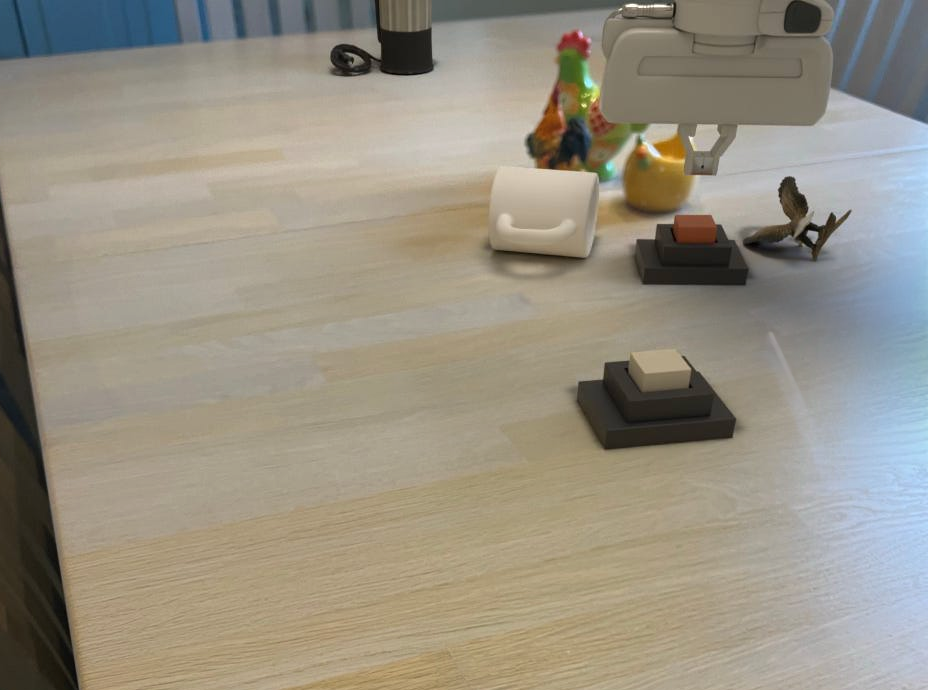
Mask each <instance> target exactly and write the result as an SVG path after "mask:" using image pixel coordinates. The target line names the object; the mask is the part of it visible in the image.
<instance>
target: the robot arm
mask: <svg viewBox="0 0 928 690" xmlns="http://www.w3.org/2000/svg"><path fill="white" fill-rule="evenodd" d="M618 15H621V16H620V17H618ZM616 16H617V17H616ZM834 19H835V11H834V9H833V7H832V6H831V5H830V4H829V3H828V2H827V1H826V0H674V2H672V3H671V2H663V3H662V2H655V3H647V4H646V3H645V4H644V3H643V4H642V3H641V4H640V3H638V2H628V3H627V2H626V3H623V4H622V6H621V8H617V9H615V10H613V11H612V12H611V13H610V14H609V15H608V16H607V18H606V19H605V21H604V23H603V26H602V34H601V53H602V56H603V57H604V58H605V59H606V60H605V64H604V69H603V73H602V78H601V84H600V90H599V96H598V97H599V99H598V108H599V113H600V114H601V115H602V117H603V118H604V119H605V121H606V122H607V123H609V124H643V125H644V124H647V125H649V124H652V125H653V124H654V125H658V124H659V125H677V129H676V130H677V134H678V137H679V139H680V142H681V145H682V147H683V149H684V152H685V158H684V164H683V173H684V175H685V176H708V177H709V176H711V177H712V176H713V177H716V176H717V174H718V171H719V164H720V159H721V157H722V156H724V154H725V153H726V151H727V150H728V149H729V147H730V146H731V145H732V143H733V142H734V140H735V139H736V136H737V131H738V126H773V127H774V126H780V127H783V126H784V127H814V126H815V125H816V124H817V123H819V121H821V119H822V118H823V117H824V116H825V114H826V111H827V108H828V103H829V99H830V98H829V97H830V93H831V92H830V91H831V86H832V77H833V66H834V53H833V52H834V51H833V48H832V45H831V43H830V41H829V40H828V39H827V38H826V37H825V35H828V33H830V31H831V29H832V26H833V24H834ZM698 125H710V126H711V125H712V126H713V125H714V126H715V125H717V132H718V134H719V135H720V136H719V137H718V138H717V140H716V141H715V143H714V144H713V146H712V147H711V149H710V150H694V148H693V145H692V142H691V140H690V138H695V136H696V133H697V126H698Z"/></svg>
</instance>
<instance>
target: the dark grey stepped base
mask: <svg viewBox="0 0 928 690" xmlns="http://www.w3.org/2000/svg"><path fill="white" fill-rule="evenodd" d="M715 224H716V226H717V231H716V237H715V243H676V240H675V237H674V235H673V225H674V223H656V225H655V226H656V227H655V234H654V238H636V242H635V247H634V248H635V250H634V258H635V261H636V265H637V269H638V272H639V277H640V280H641V284H642V285H645V286H648V285H649V286H650V285H651V286H654V285H655V286H742V287H743V286H746V285H747V280H748V275H749V270H750V268H749V267H748V265H747V262H746V261H745V259H744V256H743V255H742V251H741V250H740V249H739V246H738V244H737V242H736V240H735V239H729V237H728V236H727V234H726V231H725V229H724V227H723V224H721V223H715Z"/></svg>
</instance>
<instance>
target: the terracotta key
mask: <svg viewBox="0 0 928 690" xmlns="http://www.w3.org/2000/svg"><path fill="white" fill-rule="evenodd" d="M673 224H674V225H673V235H674V237H675V240H676V243H715V237H716V231H717V226H716V224H717V223H716V222H715V220H714V218H713V216H712V214H674V219H673Z"/></svg>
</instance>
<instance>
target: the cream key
mask: <svg viewBox="0 0 928 690" xmlns="http://www.w3.org/2000/svg"><path fill="white" fill-rule="evenodd" d="M681 356H682V355H681V354H680V353H679V351H678V350H677V349H676V348H667V349H654V350H643V351H631V352H630V353H629V360H628V361H629V368H628V374H629V376H630V377H631V379H632V380H633V382H634V383H635V385H636V386H637V388H638V389H639V391H640V392H653V391H664V390H676V389H687V388H688V387H689V381H690V375H691V368H690V367H689V366H688V364H687V363H686V362H685V361H684V359H683V358H682V357H681Z"/></svg>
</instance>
